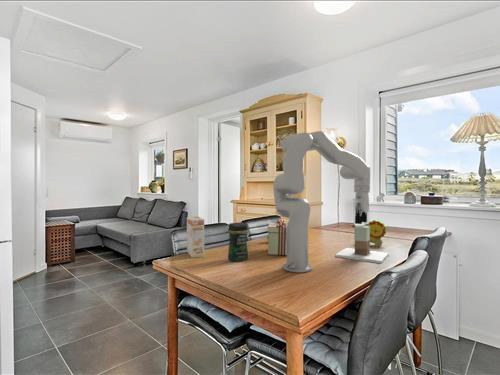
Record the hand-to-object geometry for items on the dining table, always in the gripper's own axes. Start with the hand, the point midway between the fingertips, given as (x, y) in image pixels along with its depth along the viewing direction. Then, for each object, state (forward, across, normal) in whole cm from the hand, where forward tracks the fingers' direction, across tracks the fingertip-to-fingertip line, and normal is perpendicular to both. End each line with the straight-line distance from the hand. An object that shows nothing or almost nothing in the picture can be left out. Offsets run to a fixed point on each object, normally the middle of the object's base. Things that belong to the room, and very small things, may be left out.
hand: (360, 222), depth 148 cm
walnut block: (+16, +1, -1) cm, 16 cm away
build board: (+17, +2, -1) cm, 17 cm away
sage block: (+9, +1, 0) cm, 9 cm away
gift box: (+19, -12, +37) cm, 44 cm away
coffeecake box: (+20, -43, +75) cm, 89 cm away
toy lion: (+16, +32, +1) cm, 35 cm away
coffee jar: (+20, -40, +48) cm, 65 cm away
